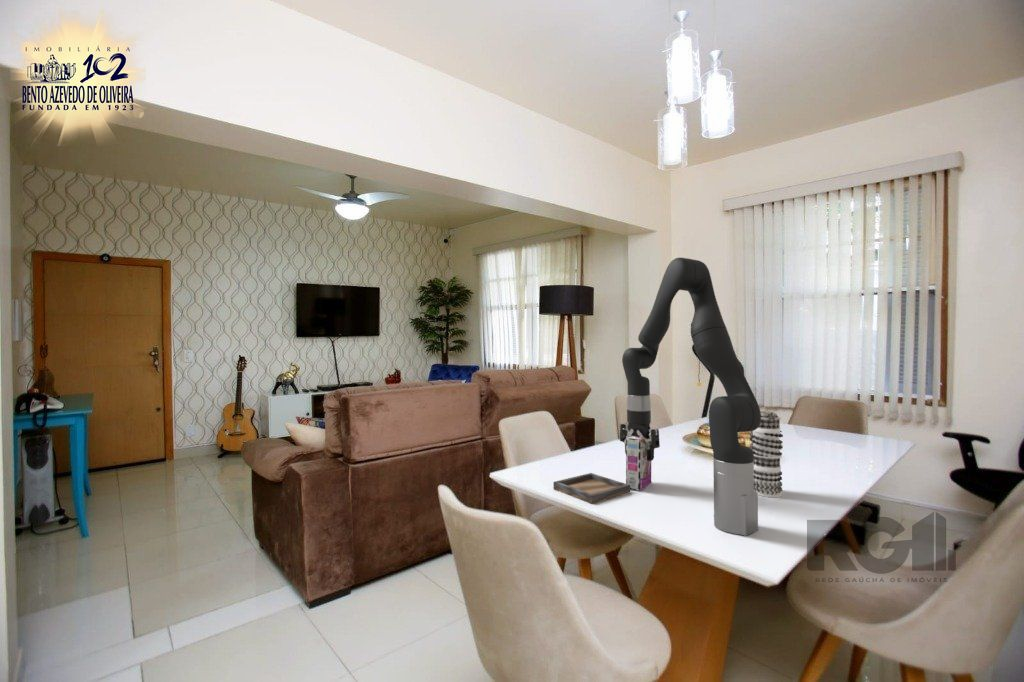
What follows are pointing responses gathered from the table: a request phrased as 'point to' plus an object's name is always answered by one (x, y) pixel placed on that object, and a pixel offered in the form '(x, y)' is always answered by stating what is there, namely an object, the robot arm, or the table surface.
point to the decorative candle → (767, 455)
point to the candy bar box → (637, 464)
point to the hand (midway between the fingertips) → (639, 458)
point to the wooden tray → (591, 487)
